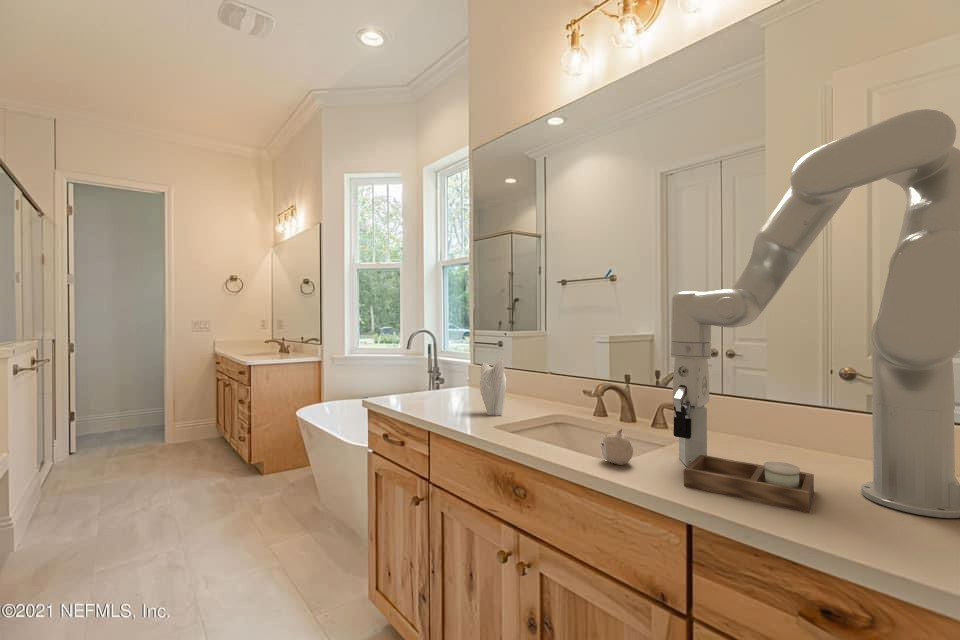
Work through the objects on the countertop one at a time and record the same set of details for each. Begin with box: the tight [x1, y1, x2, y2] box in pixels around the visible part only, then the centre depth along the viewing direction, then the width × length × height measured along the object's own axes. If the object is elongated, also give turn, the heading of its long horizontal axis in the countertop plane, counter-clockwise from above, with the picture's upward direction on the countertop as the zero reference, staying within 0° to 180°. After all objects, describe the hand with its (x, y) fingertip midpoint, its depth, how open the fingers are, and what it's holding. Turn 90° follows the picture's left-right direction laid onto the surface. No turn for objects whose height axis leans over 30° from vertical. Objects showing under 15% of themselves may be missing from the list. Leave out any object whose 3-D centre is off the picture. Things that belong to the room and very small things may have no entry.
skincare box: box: [678, 405, 708, 467], centre depth 93 cm, size 6×4×12 cm
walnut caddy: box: [683, 455, 815, 513], centre depth 79 cm, size 18×11×3 cm, turn 50°
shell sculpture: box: [479, 358, 507, 417], centre depth 143 cm, size 8×8×18 cm
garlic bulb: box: [600, 428, 634, 466], centre depth 94 cm, size 7×6×8 cm
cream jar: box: [763, 461, 801, 489], centre depth 76 cm, size 5×5×4 cm
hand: (689, 432), depth 94 cm, fingers open, 9 cm apart
